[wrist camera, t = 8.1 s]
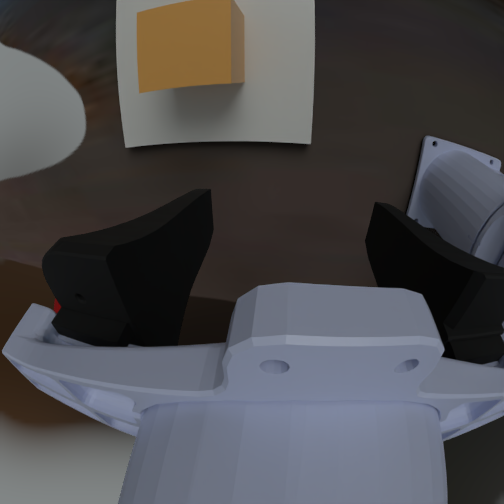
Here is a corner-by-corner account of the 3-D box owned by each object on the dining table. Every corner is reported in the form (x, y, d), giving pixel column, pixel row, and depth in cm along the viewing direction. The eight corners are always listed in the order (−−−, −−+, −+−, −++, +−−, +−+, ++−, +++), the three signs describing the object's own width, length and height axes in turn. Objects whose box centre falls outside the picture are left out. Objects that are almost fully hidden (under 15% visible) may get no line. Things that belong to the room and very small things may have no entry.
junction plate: (311, -31, 10) (318, -54, 6) (309, 141, 18) (315, 157, 15) (123, -8, 11) (93, -18, 8) (131, 144, 19) (103, 161, 16)
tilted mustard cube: (244, 15, 12) (230, -5, 8) (244, 82, 15) (231, 83, 11) (171, 24, 13) (136, 12, 9) (172, 87, 16) (139, 93, 12)
